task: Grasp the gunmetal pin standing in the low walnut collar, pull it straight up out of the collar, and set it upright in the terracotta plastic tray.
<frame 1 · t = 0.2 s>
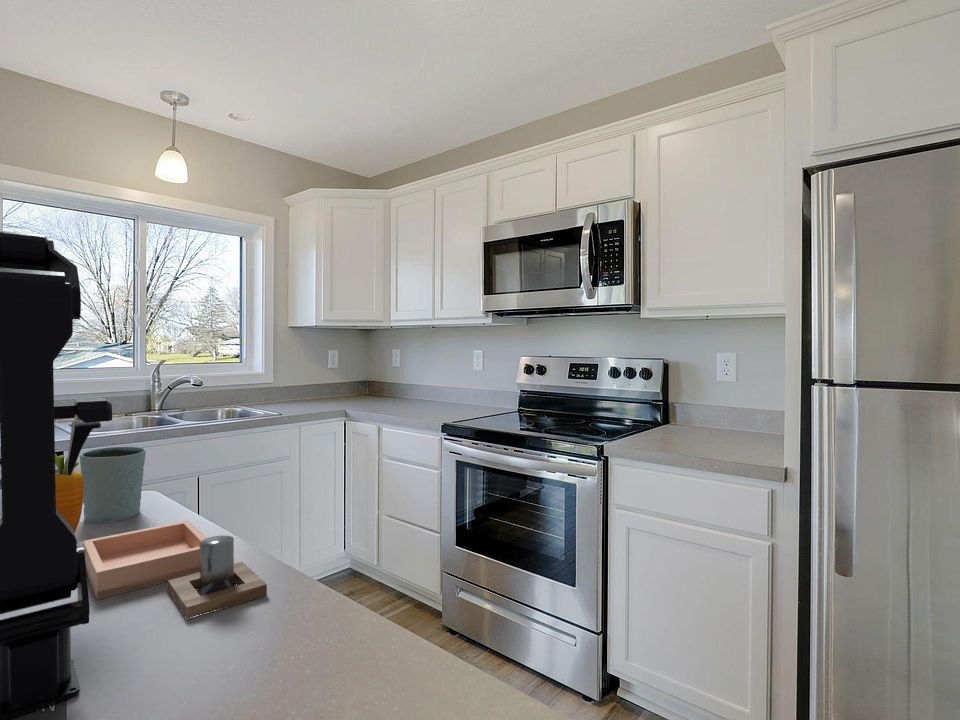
hand: (25, 479, 71), 14 cm above the countertop, fingers open, 9 cm apart
carrot: (66, 543, 87), on the countertop
green embossed pot: (114, 516, 101), on the countertop
gunmetal pin: (216, 567, 71), in the walnut collar
walnut collar: (217, 593, 71), on the countertop
terracotta tray: (148, 566, 79), on the countertop
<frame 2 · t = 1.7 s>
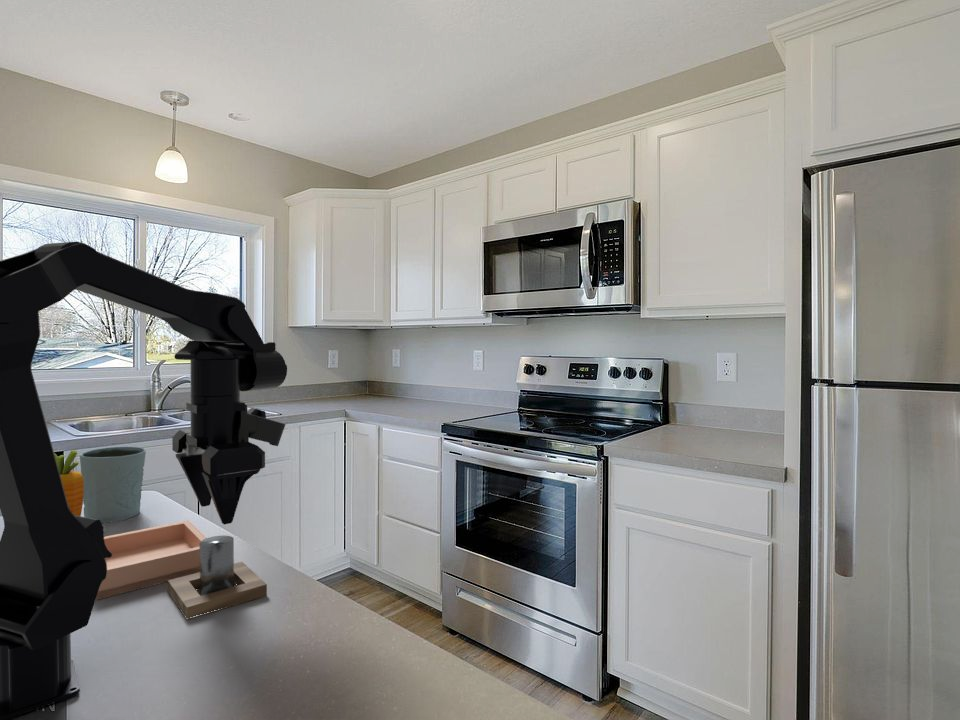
hand: (215, 514, 70), 11 cm above the countertop, fingers open, 9 cm apart
nothing on the countertop moved.
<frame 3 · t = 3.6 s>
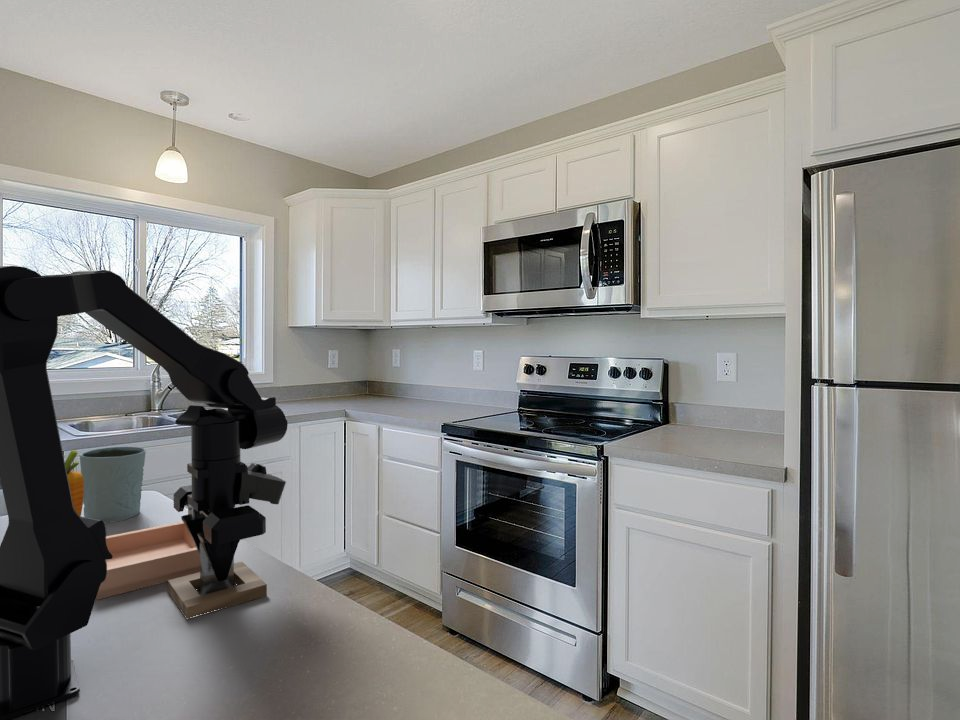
hand: (217, 574, 71), 3 cm above the countertop, fingers closed on gunmetal pin, 4 cm apart
gunmetal pin: (217, 567, 71), in the walnut collar, touching gripper
everything else where it was.
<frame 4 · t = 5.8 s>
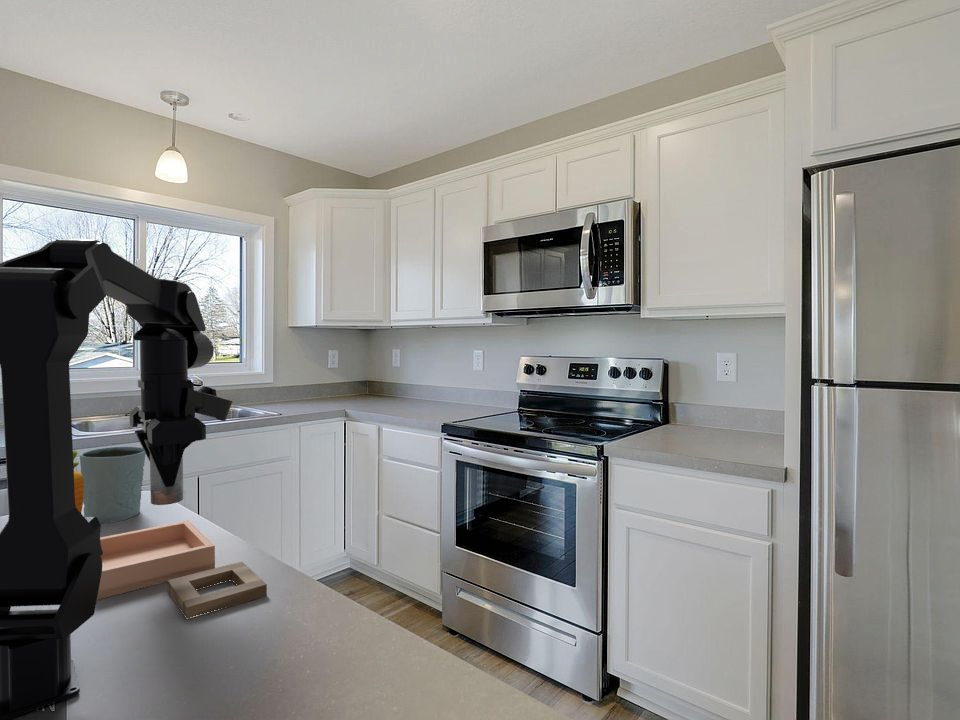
hand: (166, 482, 76), 13 cm above the countertop, fingers closed on gunmetal pin, 4 cm apart
gunmetal pin: (166, 476, 76), point 14 cm above the countertop, touching gripper
everything else where it was.
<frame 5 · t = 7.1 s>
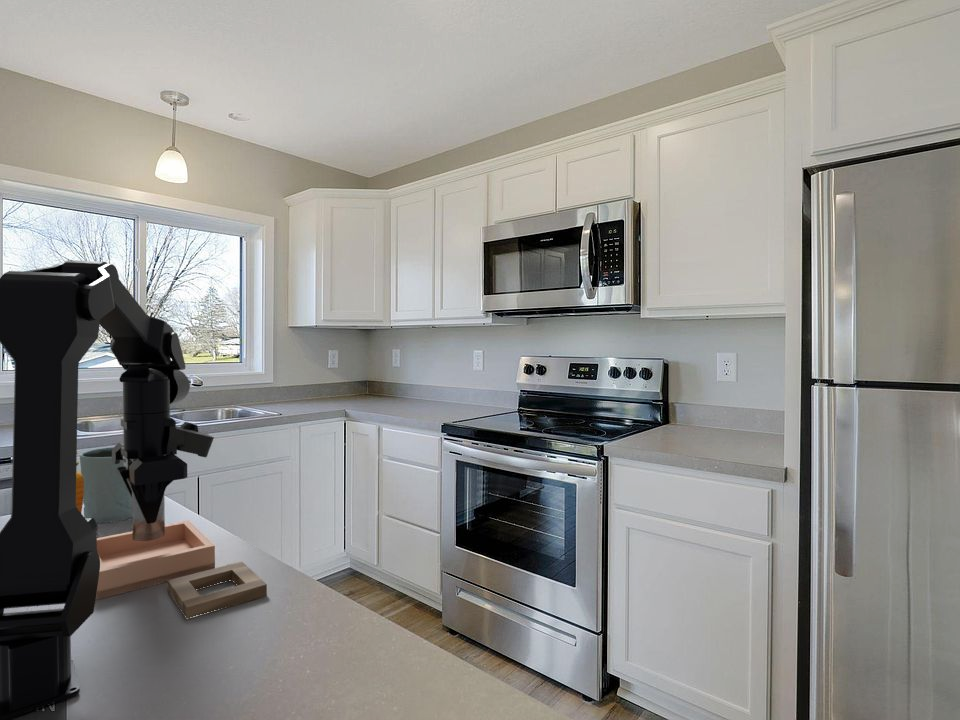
hand: (148, 519, 78), 7 cm above the countertop, fingers closed on gunmetal pin, 4 cm apart
gunmetal pin: (148, 512, 78), point 8 cm above the countertop, touching gripper
everything else where it was.
when the fingers open (5 cm above the countertop, at t = 8.2 s): gunmetal pin drops 1 cm, resting on terracotta tray.
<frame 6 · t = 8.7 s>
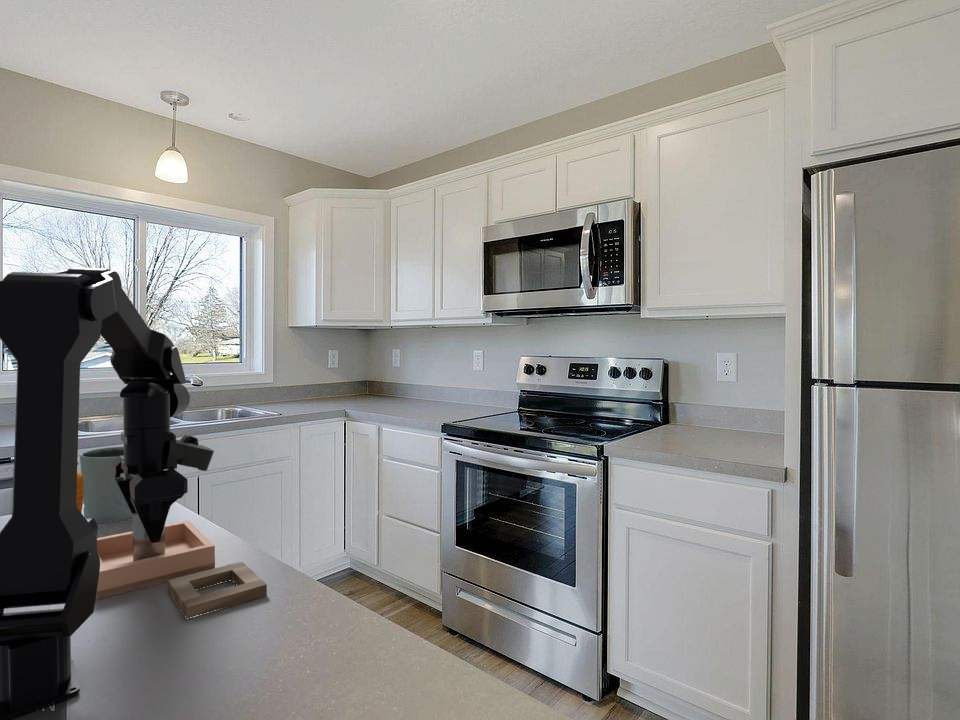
hand: (148, 533, 78), 5 cm above the countertop, fingers open, 9 cm apart
gunmetal pin: (148, 536, 78), in the terracotta tray, point 4 cm above the countertop
everything else where it was.
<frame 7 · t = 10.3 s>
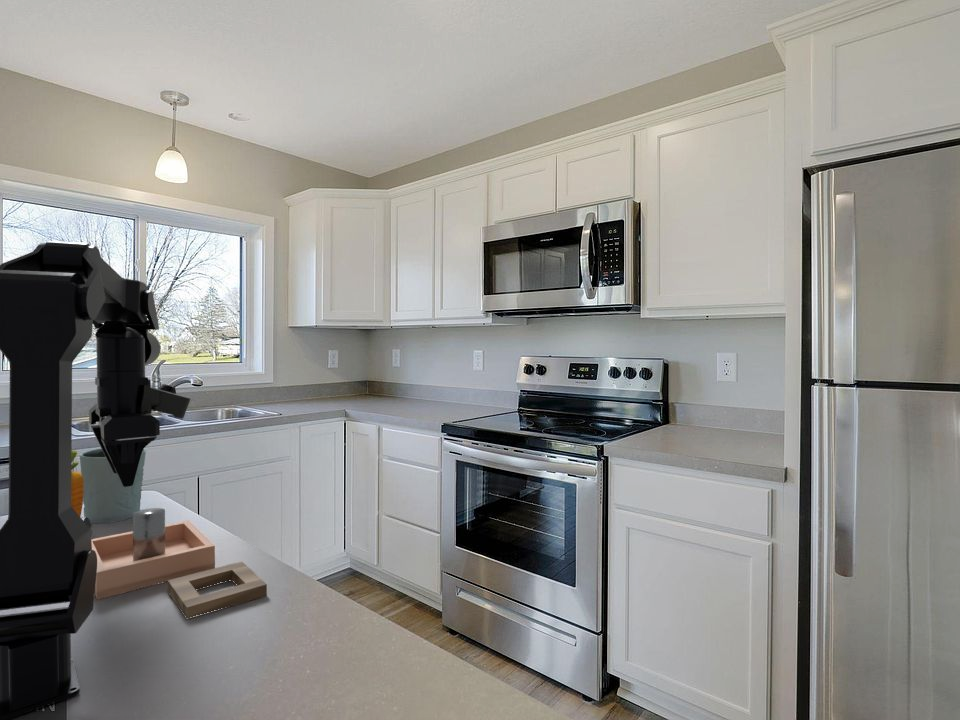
hand: (122, 479, 77), 13 cm above the countertop, fingers open, 9 cm apart
nothing on the countertop moved.
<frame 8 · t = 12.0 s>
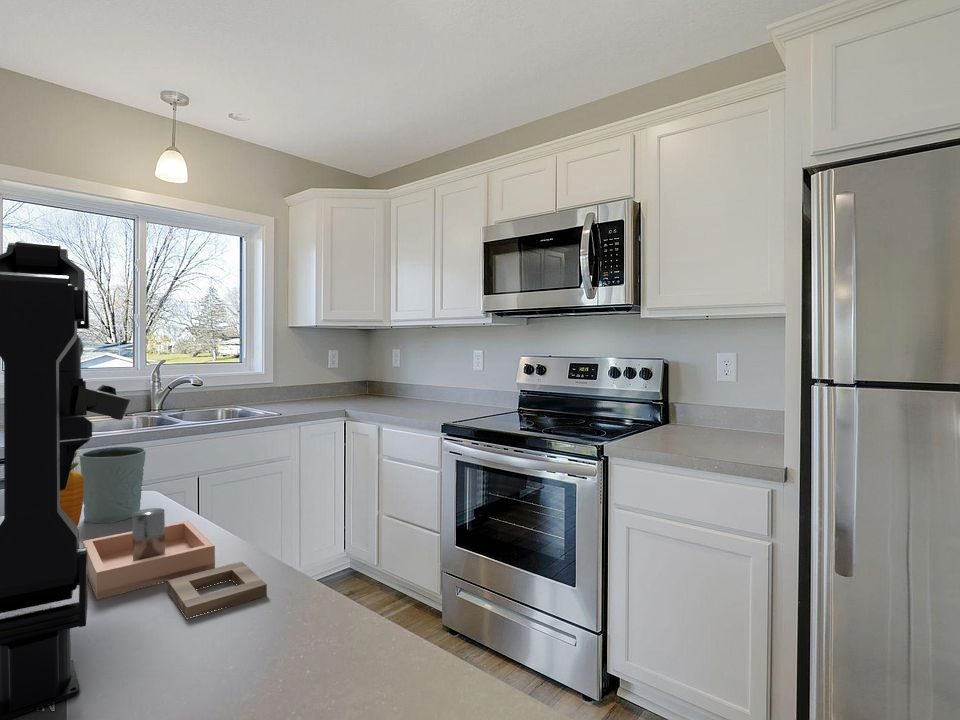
hand: (57, 482, 75), 13 cm above the countertop, fingers open, 9 cm apart
nothing on the countertop moved.
at the end: gunmetal pin inside the target area on the terracotta tray (0.1 cm from its centre), point 4.5 cm above the terracotta tray's base; gunmetal pin tilted 1°; the gripper is holding nothing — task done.
